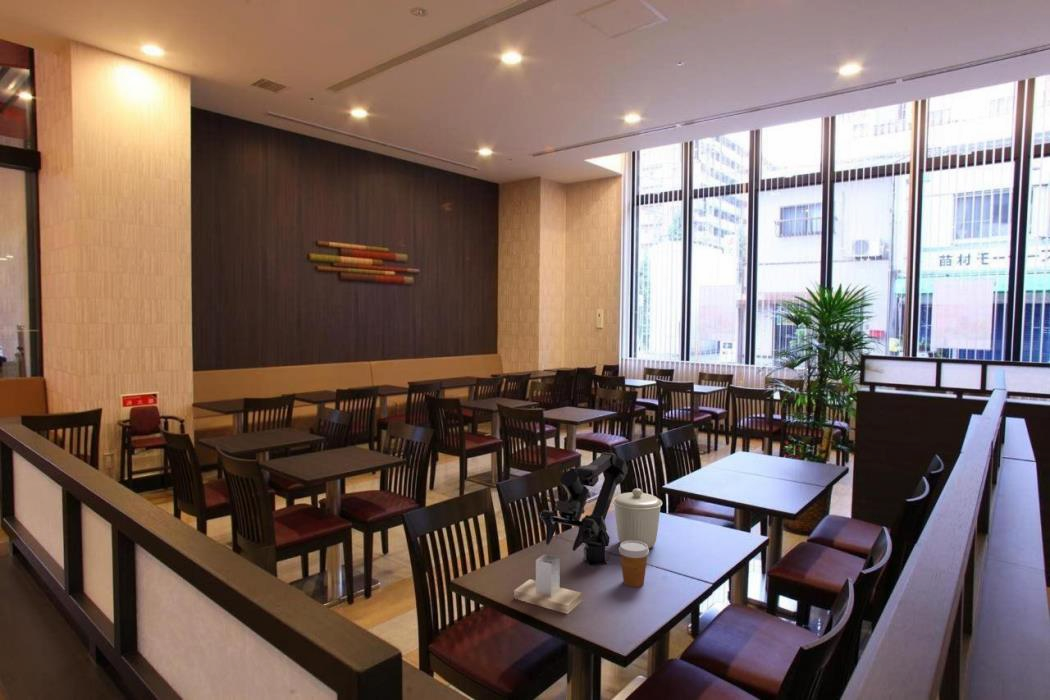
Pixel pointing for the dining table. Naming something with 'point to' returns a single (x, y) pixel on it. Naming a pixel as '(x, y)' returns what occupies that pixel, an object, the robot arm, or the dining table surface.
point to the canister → (637, 517)
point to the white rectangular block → (547, 575)
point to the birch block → (558, 602)
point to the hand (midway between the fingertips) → (560, 547)
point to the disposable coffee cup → (633, 562)
